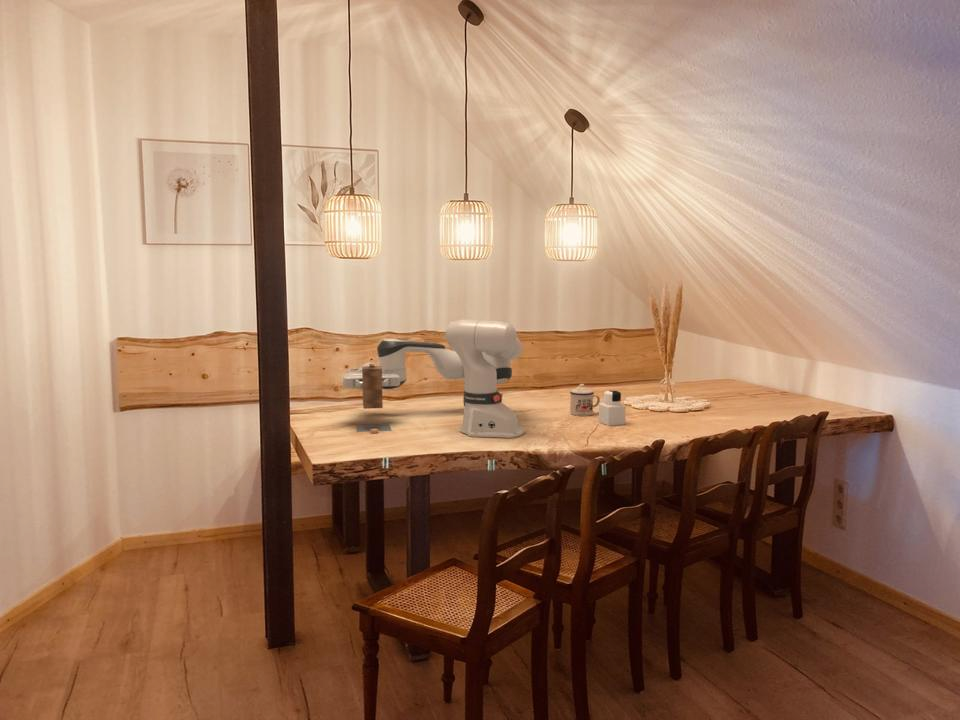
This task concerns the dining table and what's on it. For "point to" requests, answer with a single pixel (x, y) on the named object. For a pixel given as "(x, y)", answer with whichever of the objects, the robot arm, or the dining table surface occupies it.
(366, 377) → the brown cylindrical container
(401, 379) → the robot arm
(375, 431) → the bowl
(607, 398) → the medicine bottle
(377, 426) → the mat
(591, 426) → the dining table surface
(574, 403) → the teacup with lid
